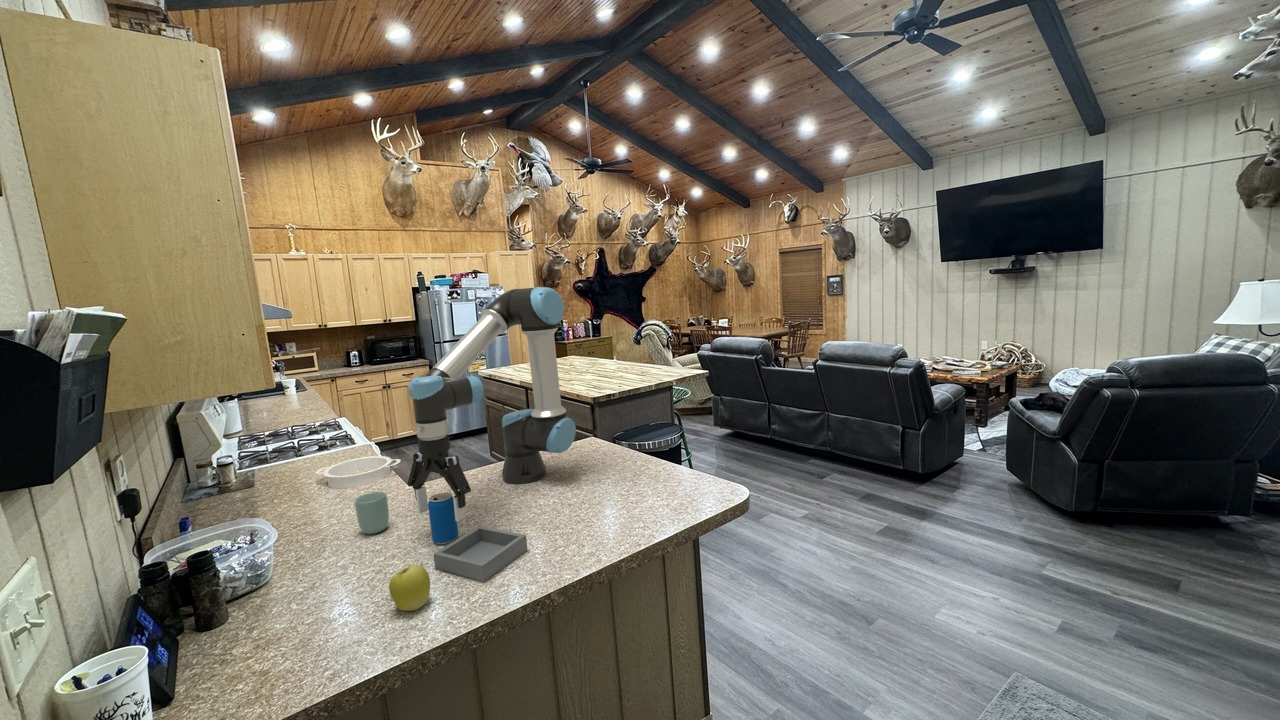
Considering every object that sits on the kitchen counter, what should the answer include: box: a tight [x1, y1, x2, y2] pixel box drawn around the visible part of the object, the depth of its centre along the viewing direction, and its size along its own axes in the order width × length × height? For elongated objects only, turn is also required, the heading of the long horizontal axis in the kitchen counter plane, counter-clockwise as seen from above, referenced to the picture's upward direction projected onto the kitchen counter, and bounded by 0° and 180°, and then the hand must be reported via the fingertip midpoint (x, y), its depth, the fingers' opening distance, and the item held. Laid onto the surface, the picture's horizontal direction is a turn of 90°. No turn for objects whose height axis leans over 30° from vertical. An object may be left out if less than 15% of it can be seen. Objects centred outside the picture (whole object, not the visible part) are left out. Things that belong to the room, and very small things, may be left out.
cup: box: [354, 491, 390, 535], centre depth 145 cm, size 8×8×10 cm
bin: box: [433, 525, 528, 583], centre depth 126 cm, size 15×15×4 cm
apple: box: [388, 564, 431, 612], centre depth 109 cm, size 8×8×10 cm
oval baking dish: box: [315, 455, 401, 489], centre depth 191 cm, size 29×22×5 cm
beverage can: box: [427, 492, 459, 545], centre depth 137 cm, size 6×6×12 cm
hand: (441, 515), depth 136 cm, fingers open, 13 cm apart
